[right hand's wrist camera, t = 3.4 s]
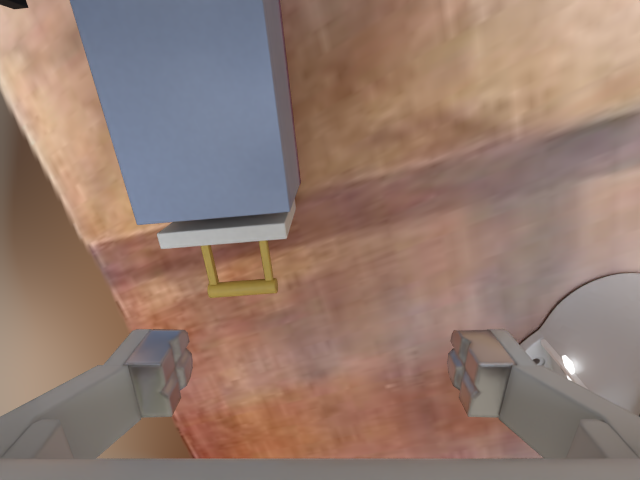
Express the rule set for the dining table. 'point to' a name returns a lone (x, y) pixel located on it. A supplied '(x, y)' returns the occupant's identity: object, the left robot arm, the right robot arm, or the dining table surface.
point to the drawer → (231, 232)
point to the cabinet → (195, 104)
